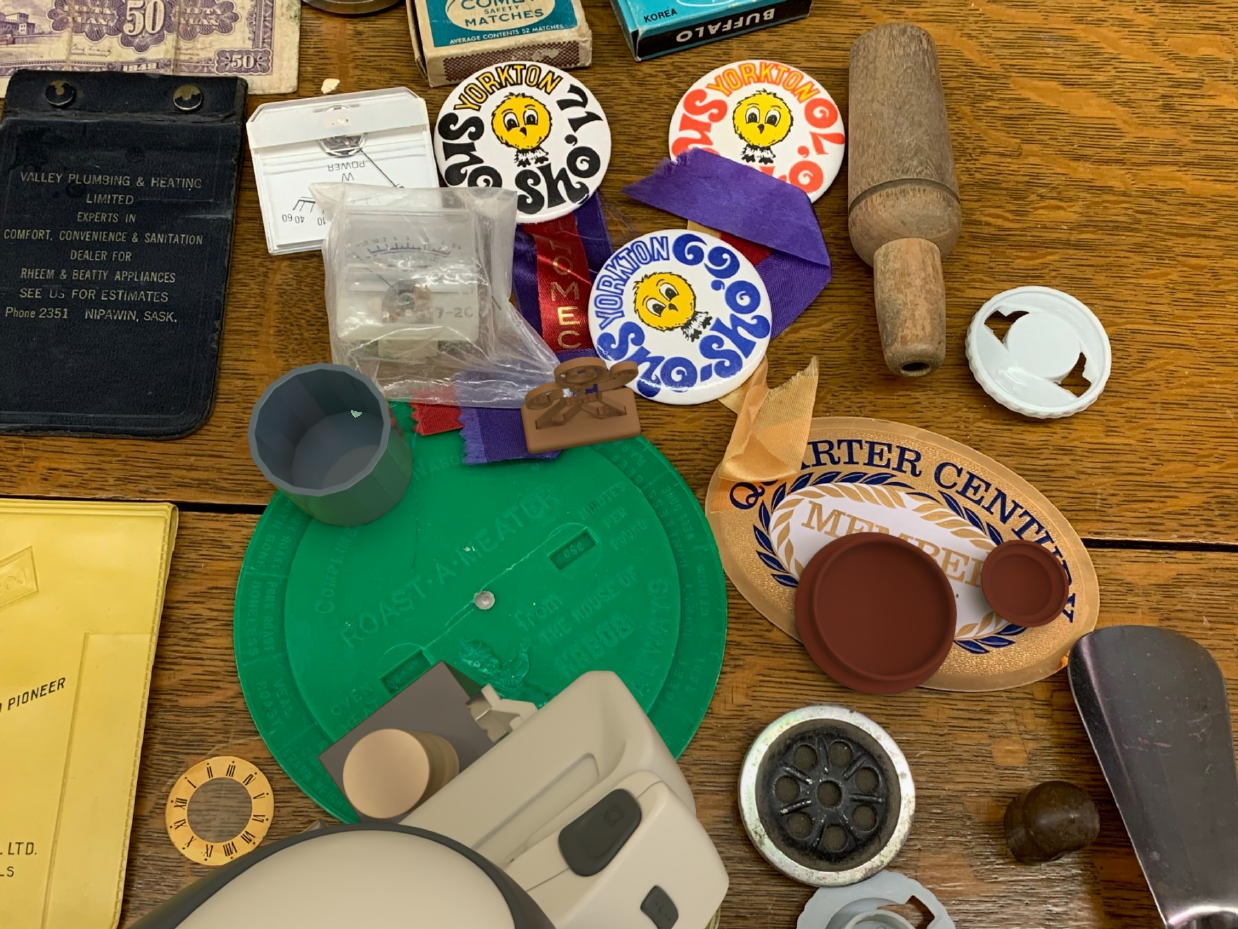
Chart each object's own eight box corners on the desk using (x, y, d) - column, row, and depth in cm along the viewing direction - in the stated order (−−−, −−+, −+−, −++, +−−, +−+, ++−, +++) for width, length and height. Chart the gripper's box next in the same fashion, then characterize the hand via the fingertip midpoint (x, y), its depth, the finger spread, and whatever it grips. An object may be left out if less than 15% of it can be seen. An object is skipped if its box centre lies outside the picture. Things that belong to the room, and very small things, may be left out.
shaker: (416, 821, 49) (374, 838, 39) (375, 763, 49) (325, 766, 40) (473, 774, 49) (446, 780, 40) (432, 718, 50) (396, 710, 41)
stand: (452, 851, 65) (405, 887, 48) (385, 755, 67) (316, 756, 49) (546, 774, 67) (532, 781, 49) (477, 682, 68) (442, 658, 51)
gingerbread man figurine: (528, 455, 73) (517, 399, 62) (520, 408, 74) (508, 345, 63) (641, 436, 74) (652, 377, 63) (632, 390, 75) (640, 324, 64)
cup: (333, 551, 71) (298, 523, 62) (263, 456, 73) (220, 416, 64) (437, 476, 73) (417, 439, 64) (366, 385, 74) (338, 337, 66)
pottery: (773, 551, 72) (784, 539, 68) (1024, 508, 73) (1051, 493, 69) (809, 709, 69) (824, 707, 64) (1071, 660, 70) (1102, 654, 66)
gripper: (311, 1261, 32) (250, 954, 44) (763, 853, 36) (600, 671, 48) (188, 1200, 29) (157, 885, 40) (702, 759, 33) (543, 587, 45)
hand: (401, 766), depth 44 cm, fingers open, 8 cm apart
